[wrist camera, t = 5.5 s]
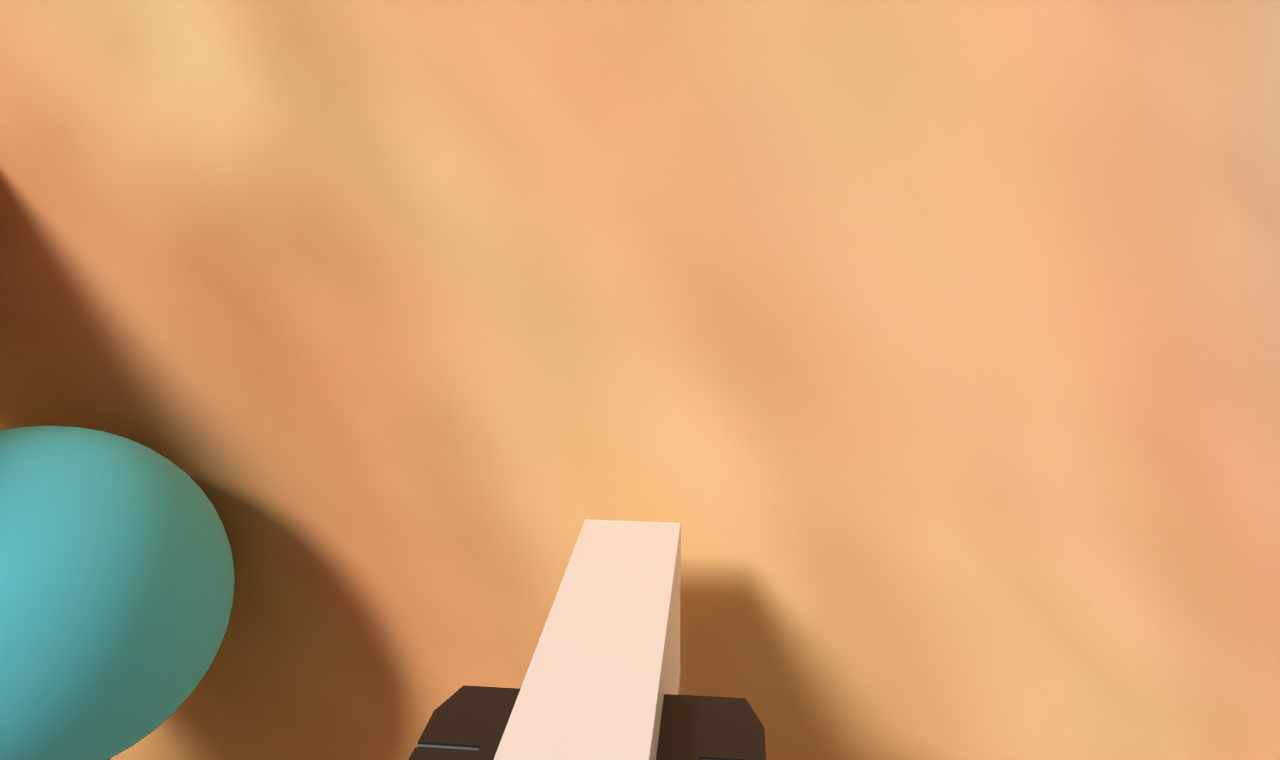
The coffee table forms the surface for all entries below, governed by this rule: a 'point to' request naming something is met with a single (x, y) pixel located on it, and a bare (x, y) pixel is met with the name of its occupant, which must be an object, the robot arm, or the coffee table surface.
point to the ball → (101, 591)
